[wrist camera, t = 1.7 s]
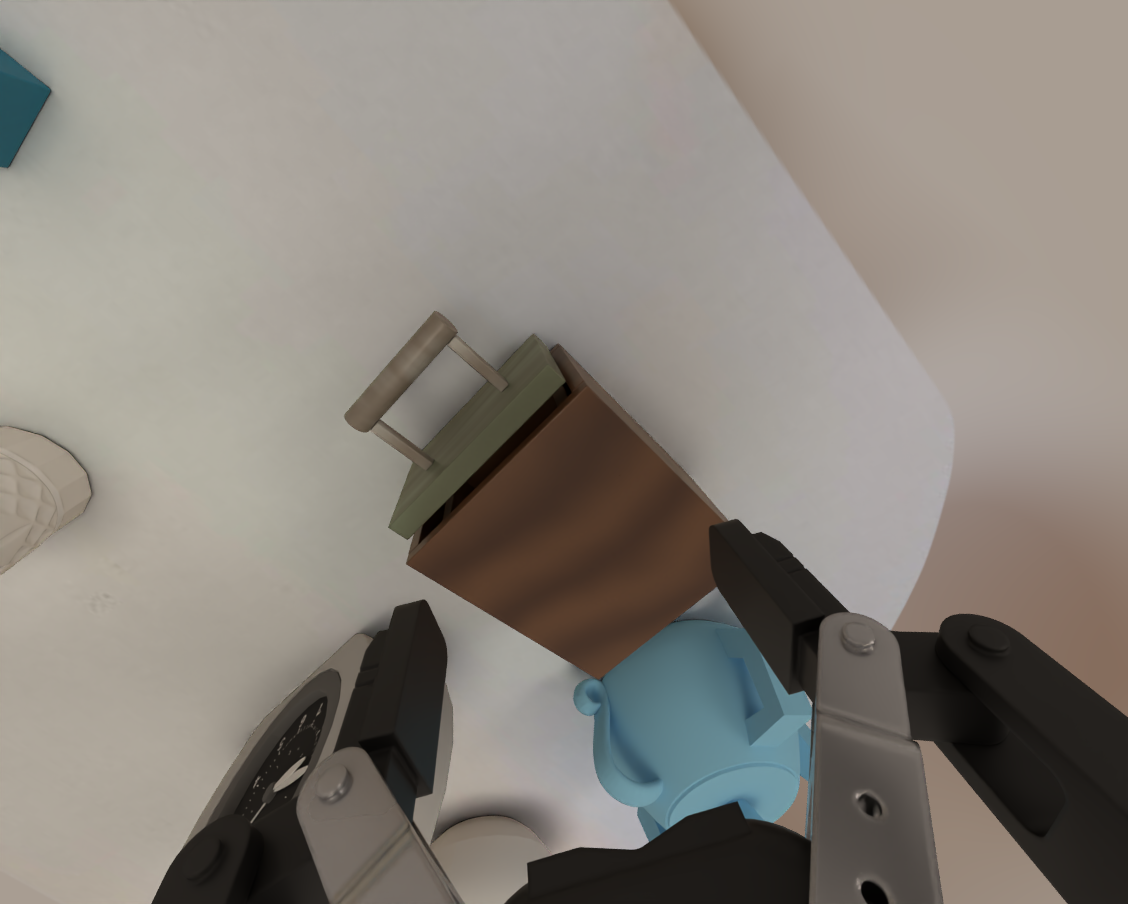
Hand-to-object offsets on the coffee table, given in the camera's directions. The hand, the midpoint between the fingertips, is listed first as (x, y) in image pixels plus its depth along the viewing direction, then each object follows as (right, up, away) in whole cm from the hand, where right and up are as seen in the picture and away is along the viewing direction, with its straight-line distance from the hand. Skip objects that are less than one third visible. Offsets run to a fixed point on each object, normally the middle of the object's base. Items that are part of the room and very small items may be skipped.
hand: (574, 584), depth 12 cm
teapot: (+11, -18, +31) cm, 38 cm away
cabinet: (0, +2, +20) cm, 20 cm away
